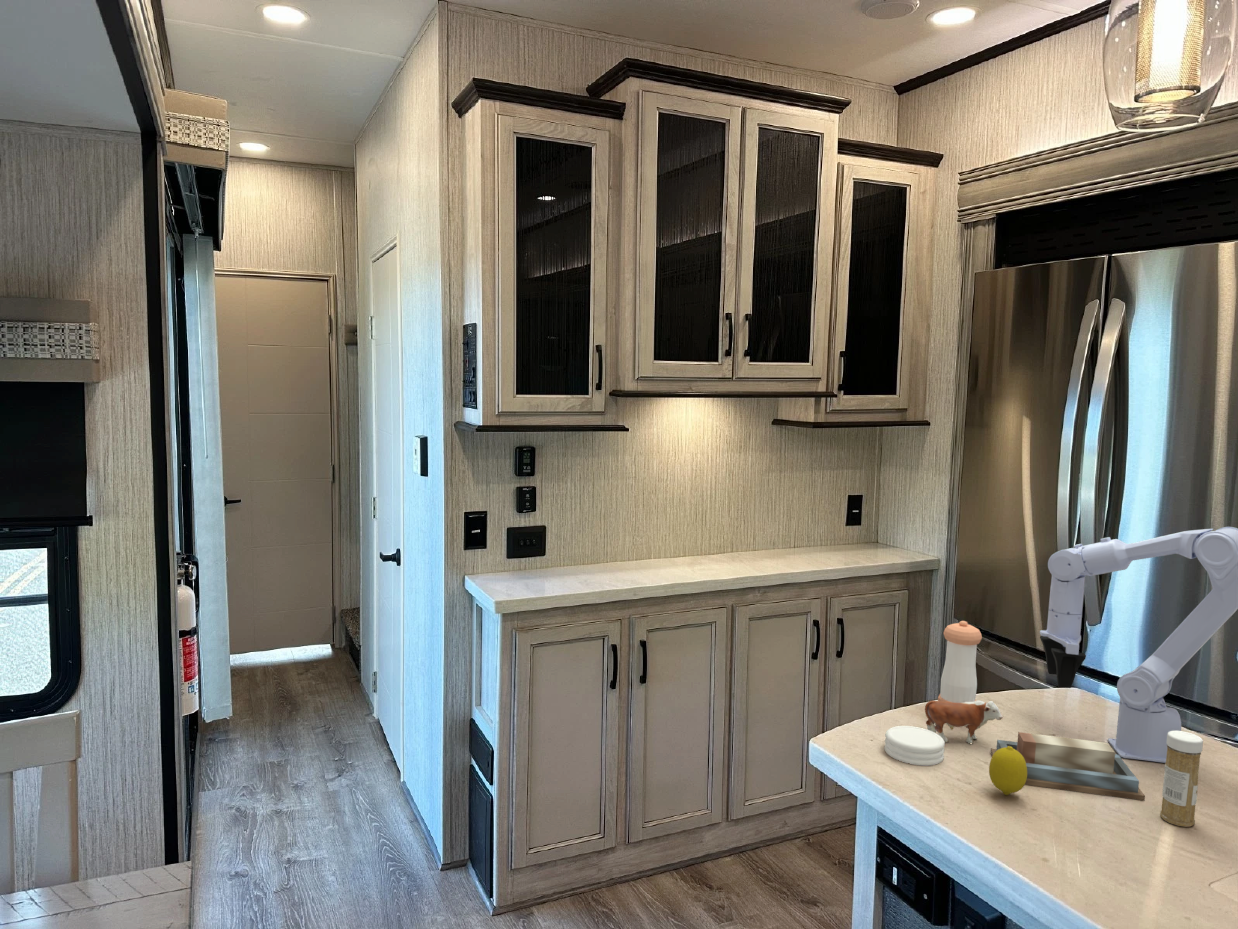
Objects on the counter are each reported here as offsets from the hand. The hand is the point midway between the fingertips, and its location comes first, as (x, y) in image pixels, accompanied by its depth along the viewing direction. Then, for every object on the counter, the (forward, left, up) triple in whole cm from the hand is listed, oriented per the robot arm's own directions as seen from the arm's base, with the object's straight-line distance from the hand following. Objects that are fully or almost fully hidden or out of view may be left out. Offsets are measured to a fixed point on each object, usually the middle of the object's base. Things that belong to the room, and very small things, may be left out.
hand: (1059, 680), depth 168 cm
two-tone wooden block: (+4, +23, -9) cm, 25 cm away
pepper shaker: (+18, 0, -10) cm, 20 cm away
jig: (+4, +23, -9) cm, 25 cm away
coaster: (+28, +22, -10) cm, 37 cm away
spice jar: (-9, +35, -10) cm, 37 cm away
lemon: (+15, +34, -10) cm, 38 cm away
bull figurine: (+19, +13, -10) cm, 25 cm away
